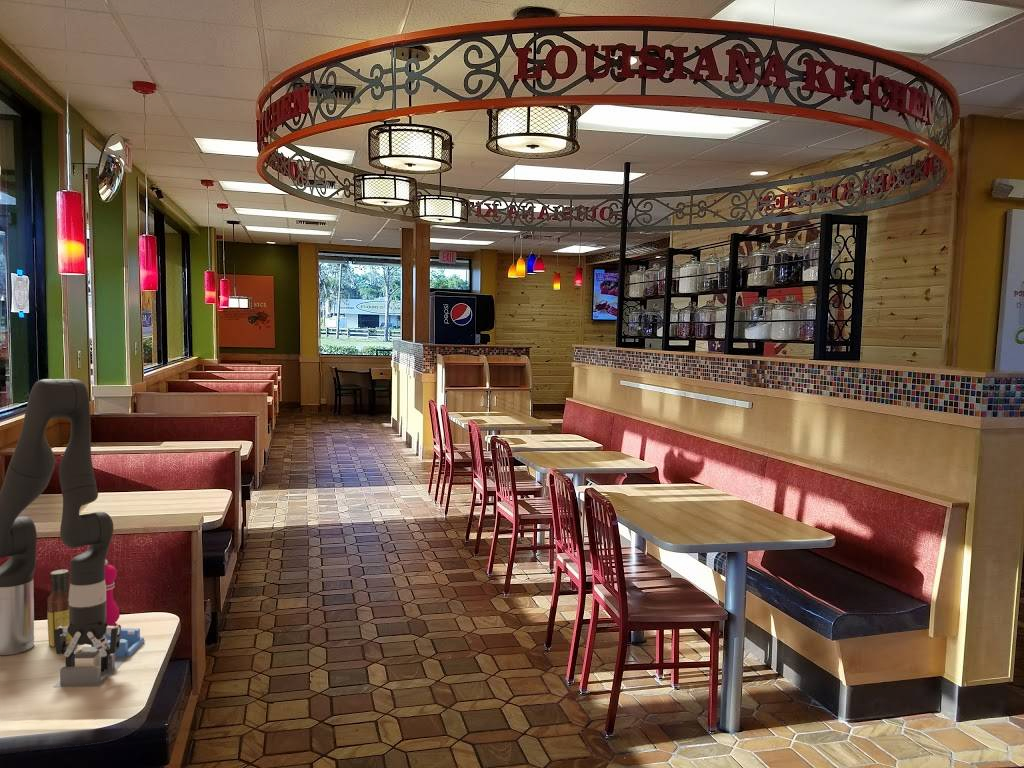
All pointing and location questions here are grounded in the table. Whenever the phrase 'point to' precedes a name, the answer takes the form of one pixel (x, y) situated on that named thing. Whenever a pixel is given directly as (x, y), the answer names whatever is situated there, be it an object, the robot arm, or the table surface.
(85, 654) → the grey block
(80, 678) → the grey fixture board
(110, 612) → the pepper mill
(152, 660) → the table surface
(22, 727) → the table surface
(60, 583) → the sauce bottle
